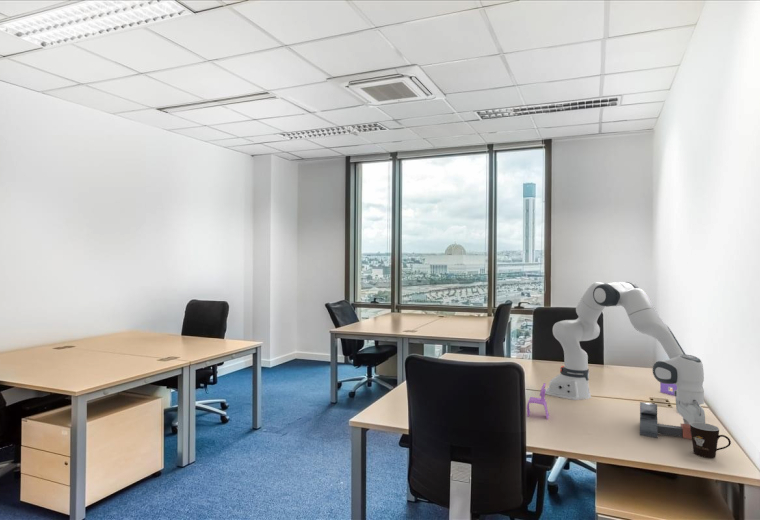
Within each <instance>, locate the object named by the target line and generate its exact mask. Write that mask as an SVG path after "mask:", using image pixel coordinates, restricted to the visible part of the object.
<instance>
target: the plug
mask: <svg viewBox="0 0 760 520" xmlns="http://www.w3.org/2000/svg"><path fill="white" fill-rule="evenodd" d="M690 430H691V428H690V425H689V424H684V423H680V426H679V425H671V424H663V423H662V424H661V423H657V434H658V435H662V436H663V435H664V436H671V437H679V438H682V439H689V440H692V436H691V434H690Z"/></svg>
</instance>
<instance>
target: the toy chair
mask: <svg viewBox="0 0 760 520" xmlns="http://www.w3.org/2000/svg"><path fill="white" fill-rule="evenodd" d="M545 387H546V383H545V382H544V383H543V384H542V386H541V389H540V392H539V396H540V397H533V396H529V399H528V402H527V404H526V414H527V417H530V415H531V411H530V404H537V405H538V404H539V405H542V406H543V408H544V410H545V411H544V412H545V417H546V420H548V419H549V416H550V415H549V412H548V411H549V410H548V406H547V405H548V404H547V401H546V394H545V391H546V388H545Z"/></svg>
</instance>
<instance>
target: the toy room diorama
mask: <svg viewBox="0 0 760 520" xmlns="http://www.w3.org/2000/svg"><path fill="white" fill-rule="evenodd" d="M659 383H660V389H659V390H660V393H663V394H667V395H671V396H675V395H674V390H677V385H676V384H664V383H661V382H659ZM675 397H676V396H675Z"/></svg>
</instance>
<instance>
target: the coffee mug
mask: <svg viewBox="0 0 760 520" xmlns="http://www.w3.org/2000/svg"><path fill="white" fill-rule="evenodd" d="M690 428H691V436H692V439H691V444H692V451H693V454H694V455H696V456H698V457H700V458H701V457H702V458H706V459H715V458H716V456H717V451H720V450H724V449H726V448H729V447H731V446H730V445H732V444H731V443H732V442H731V438H730V437H728V436H726V435H724V434H719V433H720V428H719V427H718V426H717V425H713V424H710V423H706V422H705V423H700V422H693V423H690ZM722 437H723V438H725V439H726V440H727V441H728V444H727V445H725V446H723V447H718V440H719V439H720V438H722ZM717 447H718V448H717Z"/></svg>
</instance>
